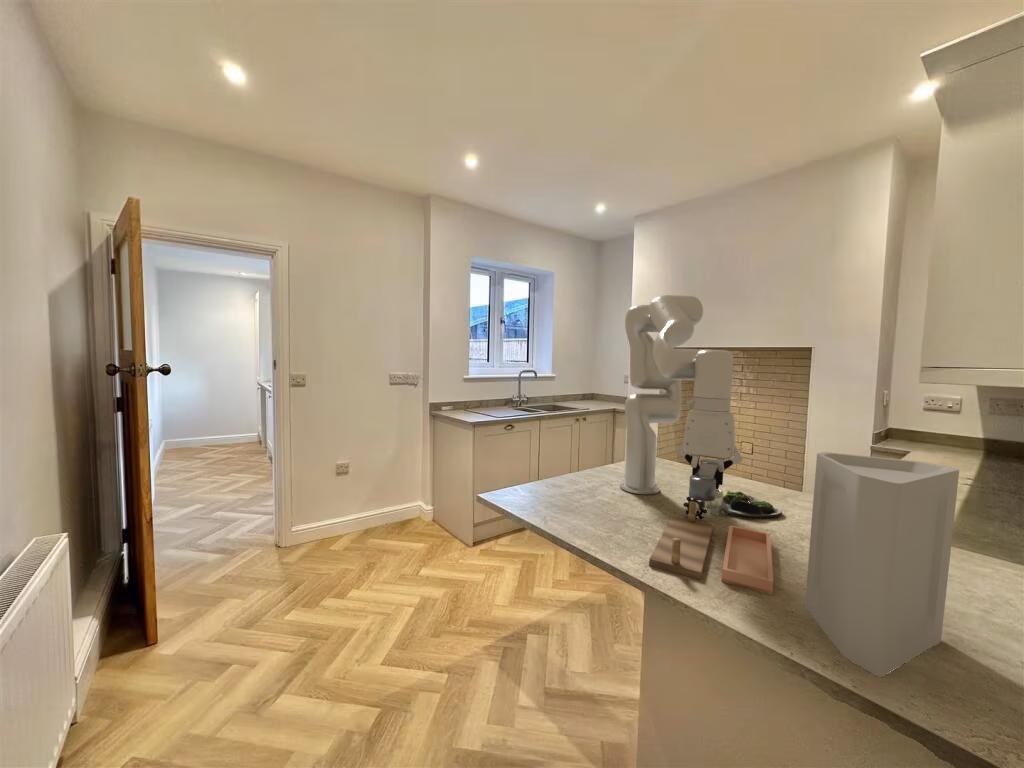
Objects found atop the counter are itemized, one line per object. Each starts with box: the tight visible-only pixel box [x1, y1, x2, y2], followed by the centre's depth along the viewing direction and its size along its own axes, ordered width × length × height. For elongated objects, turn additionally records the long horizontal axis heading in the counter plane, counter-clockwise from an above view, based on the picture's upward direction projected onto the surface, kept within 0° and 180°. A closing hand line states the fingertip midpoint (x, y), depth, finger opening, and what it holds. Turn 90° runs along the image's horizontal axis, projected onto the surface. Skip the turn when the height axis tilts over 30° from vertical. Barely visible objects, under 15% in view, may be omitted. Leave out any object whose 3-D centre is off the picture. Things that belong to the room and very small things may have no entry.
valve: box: [683, 488, 724, 521], centre depth 116 cm, size 7×7×12 cm
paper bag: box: [804, 451, 960, 678], centre depth 68 cm, size 19×15×28 cm
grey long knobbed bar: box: [688, 458, 718, 502], centre depth 94 cm, size 21×5×4 cm, turn 148°
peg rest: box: [648, 502, 714, 580], centre depth 97 cm, size 28×10×6 cm, turn 150°
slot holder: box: [721, 525, 775, 596], centre depth 91 cm, size 25×9×3 cm, turn 150°
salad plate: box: [721, 489, 783, 520], centre depth 123 cm, size 19×18×5 cm
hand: (706, 485), depth 94 cm, fingers closed on grey long knobbed bar, 3 cm apart
